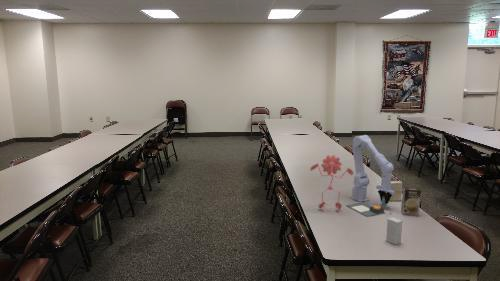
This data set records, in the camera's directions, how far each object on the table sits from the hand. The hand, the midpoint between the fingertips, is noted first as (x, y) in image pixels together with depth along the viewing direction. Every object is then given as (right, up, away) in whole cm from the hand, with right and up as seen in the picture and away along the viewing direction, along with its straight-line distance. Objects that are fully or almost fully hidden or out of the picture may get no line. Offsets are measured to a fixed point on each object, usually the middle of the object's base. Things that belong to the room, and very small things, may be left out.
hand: (384, 202), depth 235 cm
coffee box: (+12, -5, -9) cm, 16 cm away
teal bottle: (0, -2, 0) cm, 2 cm away
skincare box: (-13, -12, -47) cm, 50 cm away
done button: (-8, -3, -8) cm, 12 cm away
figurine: (-36, -4, -2) cm, 36 cm away
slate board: (-14, -4, -3) cm, 15 cm away
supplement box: (+12, -1, +14) cm, 18 cm away
